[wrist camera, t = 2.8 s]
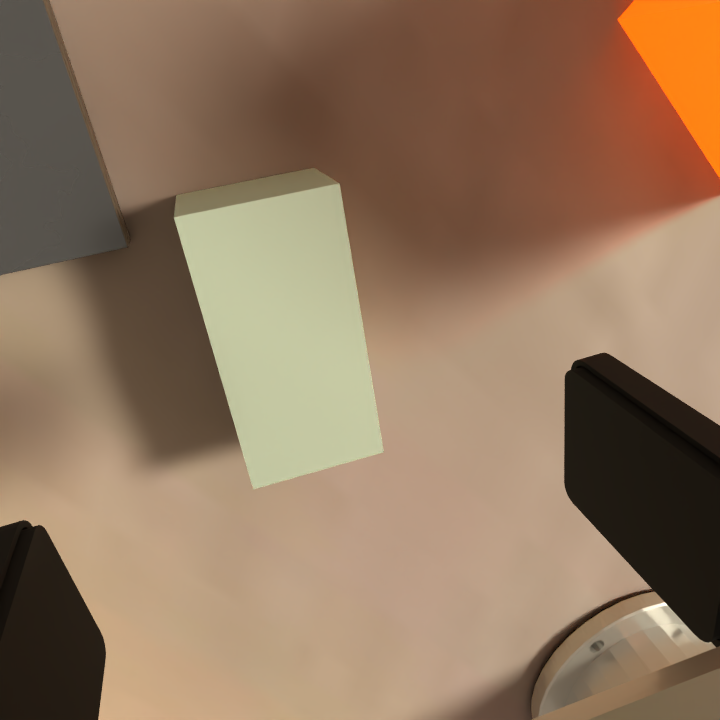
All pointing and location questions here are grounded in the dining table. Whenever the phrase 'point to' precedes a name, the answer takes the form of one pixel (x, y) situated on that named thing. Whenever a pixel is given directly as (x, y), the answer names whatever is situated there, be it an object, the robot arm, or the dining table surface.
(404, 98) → the dining table surface
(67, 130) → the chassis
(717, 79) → the orange juice
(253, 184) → the pale green block
